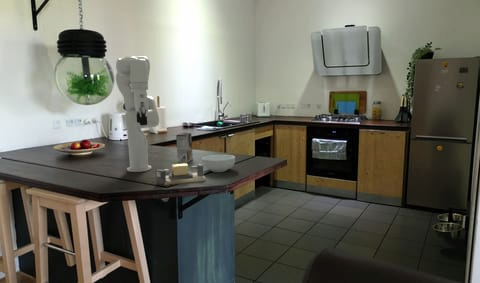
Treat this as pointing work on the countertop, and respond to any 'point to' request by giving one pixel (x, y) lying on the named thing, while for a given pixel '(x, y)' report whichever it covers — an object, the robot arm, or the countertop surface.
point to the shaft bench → (192, 177)
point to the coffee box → (184, 147)
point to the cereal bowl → (218, 162)
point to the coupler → (180, 170)
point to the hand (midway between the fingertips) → (142, 123)
